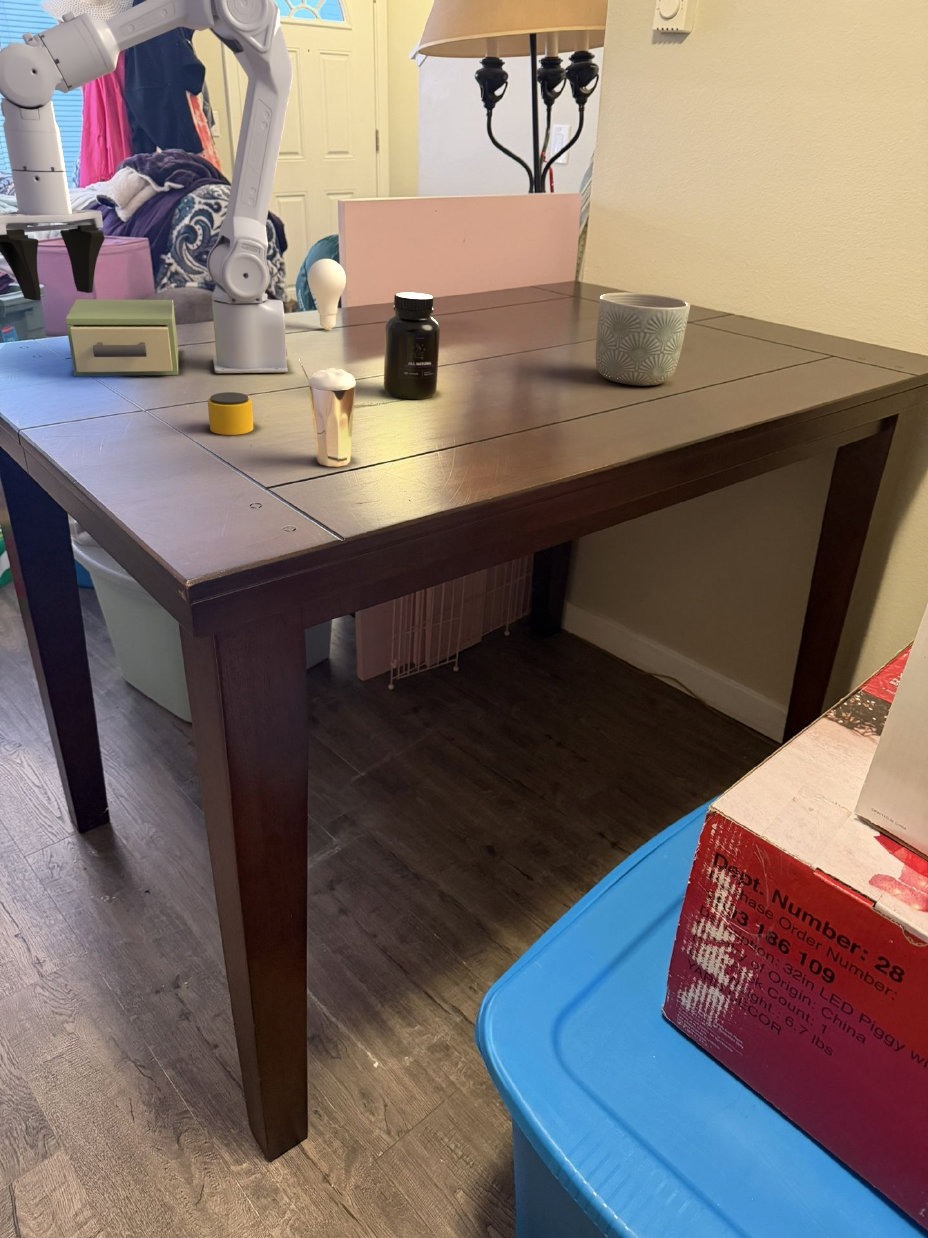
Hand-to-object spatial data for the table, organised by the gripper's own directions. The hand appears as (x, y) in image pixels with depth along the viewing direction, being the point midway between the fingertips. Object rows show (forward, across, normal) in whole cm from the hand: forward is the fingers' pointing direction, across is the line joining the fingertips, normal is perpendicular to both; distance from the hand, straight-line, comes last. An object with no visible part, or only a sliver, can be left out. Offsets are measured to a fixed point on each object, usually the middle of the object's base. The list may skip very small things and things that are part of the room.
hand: (59, 295), depth 106 cm
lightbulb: (+10, -46, +6) cm, 47 cm away
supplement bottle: (+10, -21, +38) cm, 44 cm away
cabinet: (+10, -9, 0) cm, 13 cm away
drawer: (+9, -6, +3) cm, 11 cm away
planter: (+10, -48, +59) cm, 77 cm away
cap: (+10, +5, +30) cm, 32 cm away
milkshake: (+10, +7, +45) cm, 47 cm away
